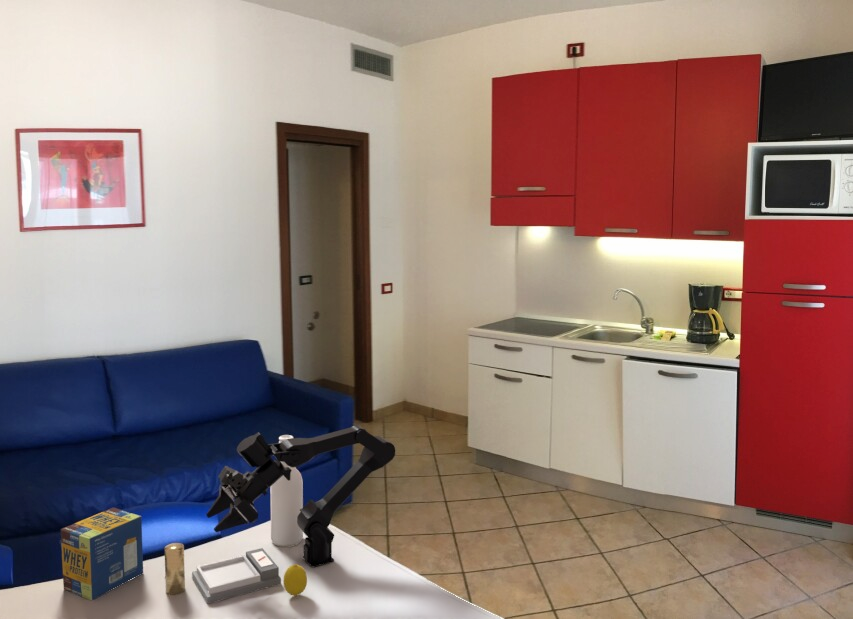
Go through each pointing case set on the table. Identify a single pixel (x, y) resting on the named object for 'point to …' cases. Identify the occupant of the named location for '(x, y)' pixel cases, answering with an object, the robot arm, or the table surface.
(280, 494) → the alcohol
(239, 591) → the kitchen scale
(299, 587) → the lemon
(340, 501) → the robot arm
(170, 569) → the cylinder
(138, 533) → the protein box
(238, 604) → the table surface
